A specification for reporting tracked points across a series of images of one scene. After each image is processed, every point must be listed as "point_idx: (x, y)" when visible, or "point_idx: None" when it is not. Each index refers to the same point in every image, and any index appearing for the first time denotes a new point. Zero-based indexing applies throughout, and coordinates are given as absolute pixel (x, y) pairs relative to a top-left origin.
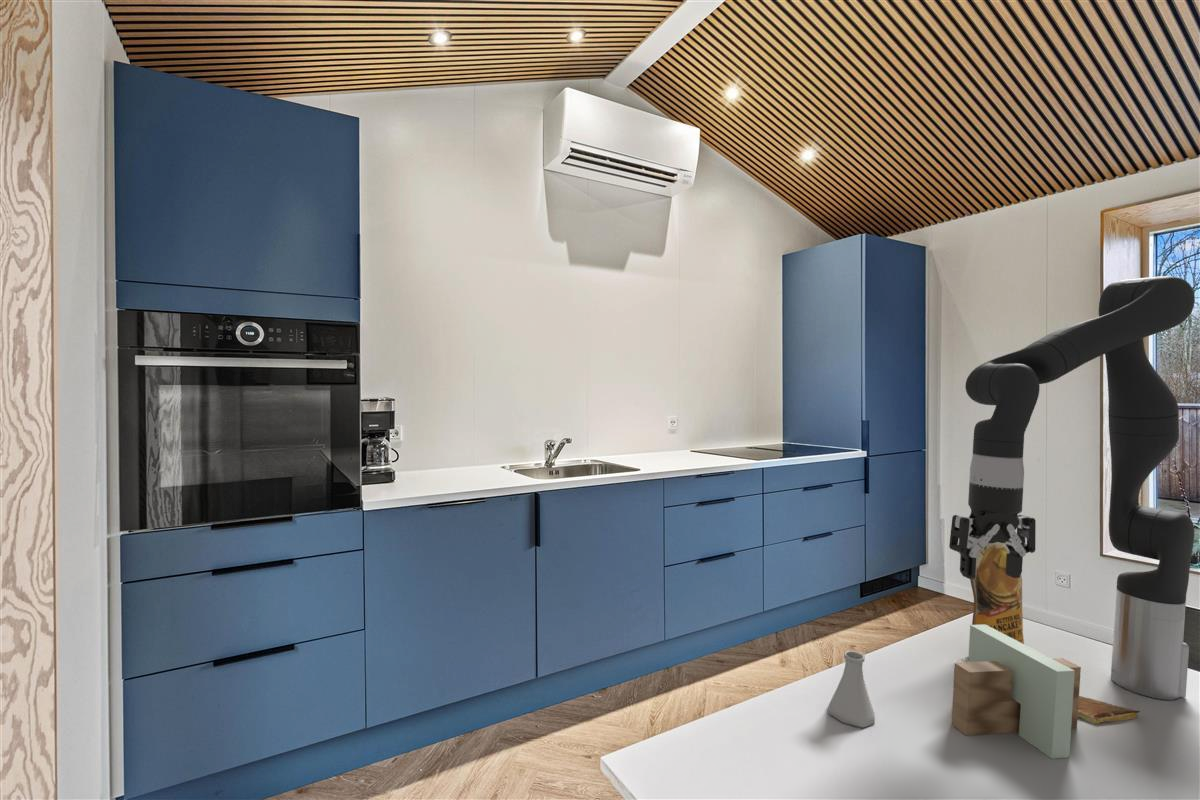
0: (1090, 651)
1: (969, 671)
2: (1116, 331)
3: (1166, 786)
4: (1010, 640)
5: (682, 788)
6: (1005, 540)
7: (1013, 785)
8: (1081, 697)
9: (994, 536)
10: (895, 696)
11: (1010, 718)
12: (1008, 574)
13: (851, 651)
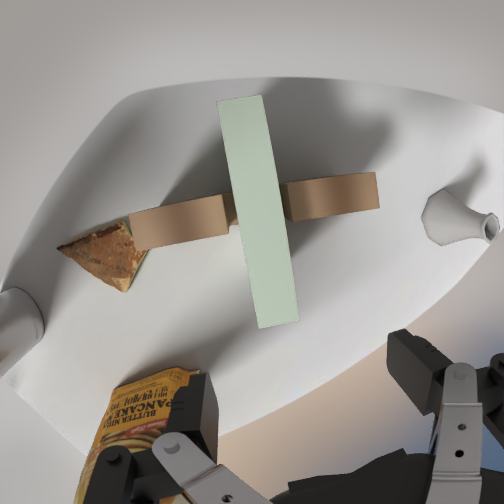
0: (38, 391)
1: (373, 175)
2: None
3: (146, 95)
4: (259, 243)
5: None
6: (296, 492)
7: (335, 85)
8: (105, 276)
9: (393, 486)
10: (374, 266)
11: None
12: (215, 399)
13: (490, 240)
